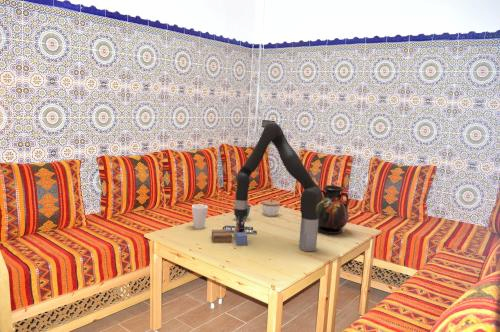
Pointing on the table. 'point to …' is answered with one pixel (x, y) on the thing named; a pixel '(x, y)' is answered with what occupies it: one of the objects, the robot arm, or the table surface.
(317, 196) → the robot arm
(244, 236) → the blue block
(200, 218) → the foam cup
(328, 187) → the amphora vase
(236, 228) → the terracotta block
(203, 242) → the table surface
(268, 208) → the lidded bowl
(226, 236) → the plinth
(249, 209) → the flower pot
